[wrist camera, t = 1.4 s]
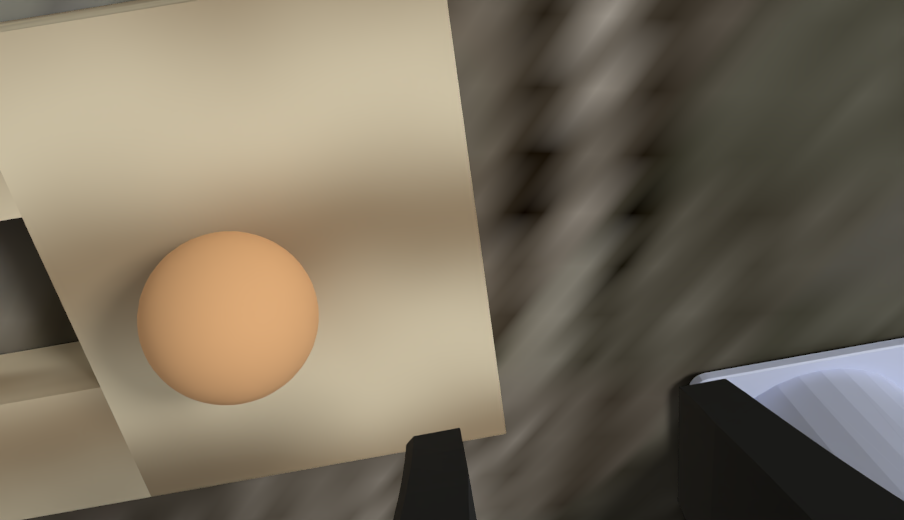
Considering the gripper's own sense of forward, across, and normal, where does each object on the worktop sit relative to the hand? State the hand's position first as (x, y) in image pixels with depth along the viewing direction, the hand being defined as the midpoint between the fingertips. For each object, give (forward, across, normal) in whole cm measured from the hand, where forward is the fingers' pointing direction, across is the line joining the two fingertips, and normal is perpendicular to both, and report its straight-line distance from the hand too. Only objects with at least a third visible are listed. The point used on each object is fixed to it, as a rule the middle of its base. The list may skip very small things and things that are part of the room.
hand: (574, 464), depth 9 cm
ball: (+6, +6, 0) cm, 8 cm away
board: (+10, +10, 0) cm, 15 cm away
